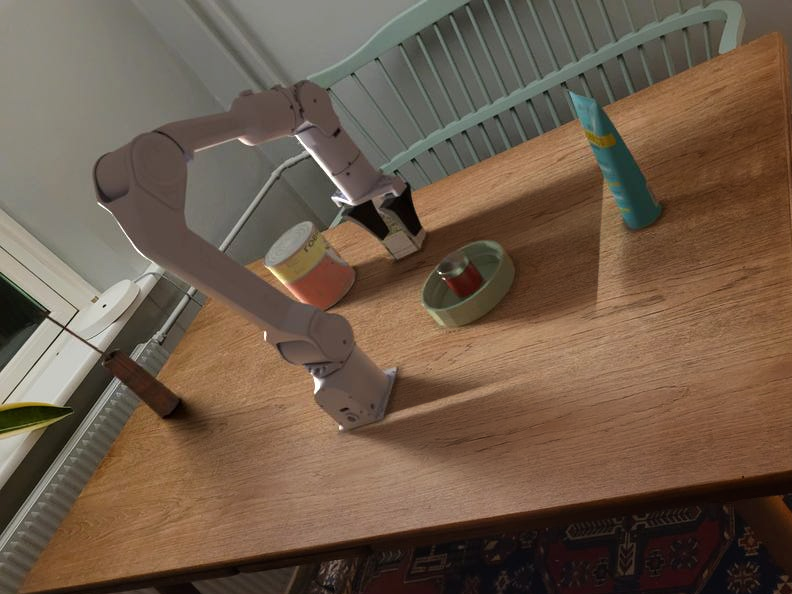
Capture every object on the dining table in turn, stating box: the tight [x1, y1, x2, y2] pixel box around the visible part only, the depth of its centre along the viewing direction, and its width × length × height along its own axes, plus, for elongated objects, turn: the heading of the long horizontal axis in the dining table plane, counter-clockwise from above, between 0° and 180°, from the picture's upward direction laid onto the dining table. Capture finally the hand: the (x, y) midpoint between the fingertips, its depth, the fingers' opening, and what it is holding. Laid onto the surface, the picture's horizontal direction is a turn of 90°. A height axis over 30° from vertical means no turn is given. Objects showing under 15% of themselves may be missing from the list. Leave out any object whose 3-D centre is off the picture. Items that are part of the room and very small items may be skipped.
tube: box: [566, 88, 662, 230], centre depth 87 cm, size 7×5×19 cm, turn 28°
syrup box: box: [372, 196, 427, 261], centre depth 120 cm, size 6×6×14 cm
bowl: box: [420, 239, 516, 328], centre depth 102 cm, size 14×14×4 cm
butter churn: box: [38, 310, 180, 418], centre depth 128 cm, size 9×10×28 cm
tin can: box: [437, 250, 486, 302], centre depth 101 cm, size 5×5×6 cm
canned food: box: [262, 220, 357, 311], centre depth 127 cm, size 11×11×12 cm
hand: (401, 234), depth 106 cm, fingers open, 7 cm apart
